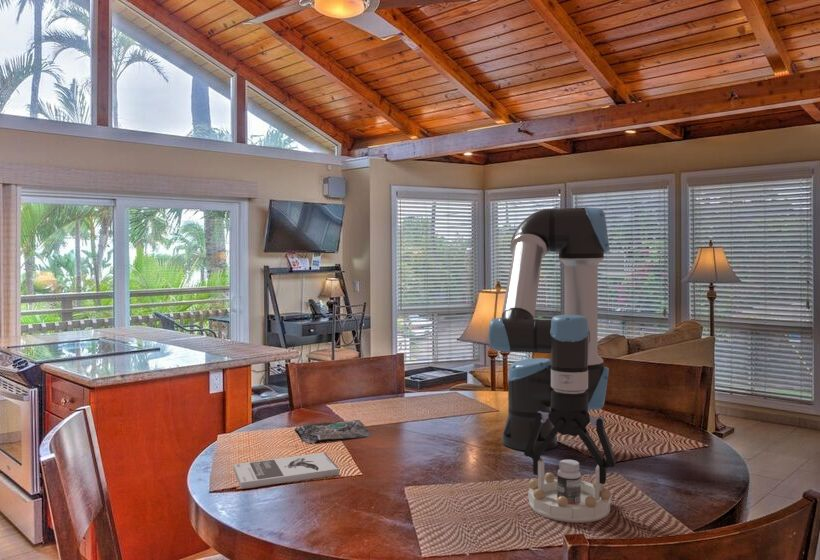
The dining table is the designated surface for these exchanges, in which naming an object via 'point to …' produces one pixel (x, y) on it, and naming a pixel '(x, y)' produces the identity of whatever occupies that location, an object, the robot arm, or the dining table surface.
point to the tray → (569, 510)
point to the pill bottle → (569, 481)
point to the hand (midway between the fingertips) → (569, 494)
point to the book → (284, 470)
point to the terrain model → (332, 431)
